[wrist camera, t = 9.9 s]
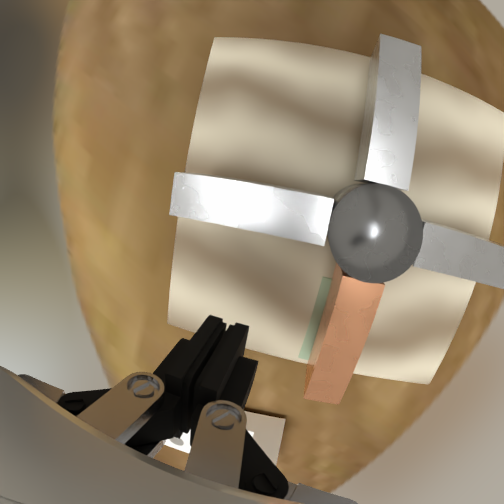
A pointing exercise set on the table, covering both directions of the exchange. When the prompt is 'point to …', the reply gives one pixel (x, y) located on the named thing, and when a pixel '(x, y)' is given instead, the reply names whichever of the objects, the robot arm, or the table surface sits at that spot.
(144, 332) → the table surface
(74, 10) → the table surface
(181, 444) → the bracket
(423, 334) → the base plate
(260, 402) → the table surface
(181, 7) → the table surface
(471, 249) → the capstan
